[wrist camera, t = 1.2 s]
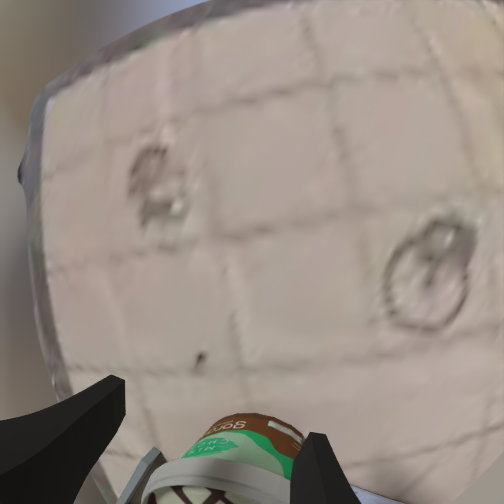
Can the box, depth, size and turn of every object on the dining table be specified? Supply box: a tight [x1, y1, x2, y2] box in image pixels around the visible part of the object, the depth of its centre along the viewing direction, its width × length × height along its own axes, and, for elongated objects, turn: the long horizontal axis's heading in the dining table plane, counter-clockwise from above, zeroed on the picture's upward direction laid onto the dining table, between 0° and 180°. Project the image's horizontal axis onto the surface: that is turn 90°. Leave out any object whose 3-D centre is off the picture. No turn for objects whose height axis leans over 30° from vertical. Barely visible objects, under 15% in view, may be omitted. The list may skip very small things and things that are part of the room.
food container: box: [141, 413, 302, 504], centre depth 18 cm, size 12×6×10 cm, turn 132°
